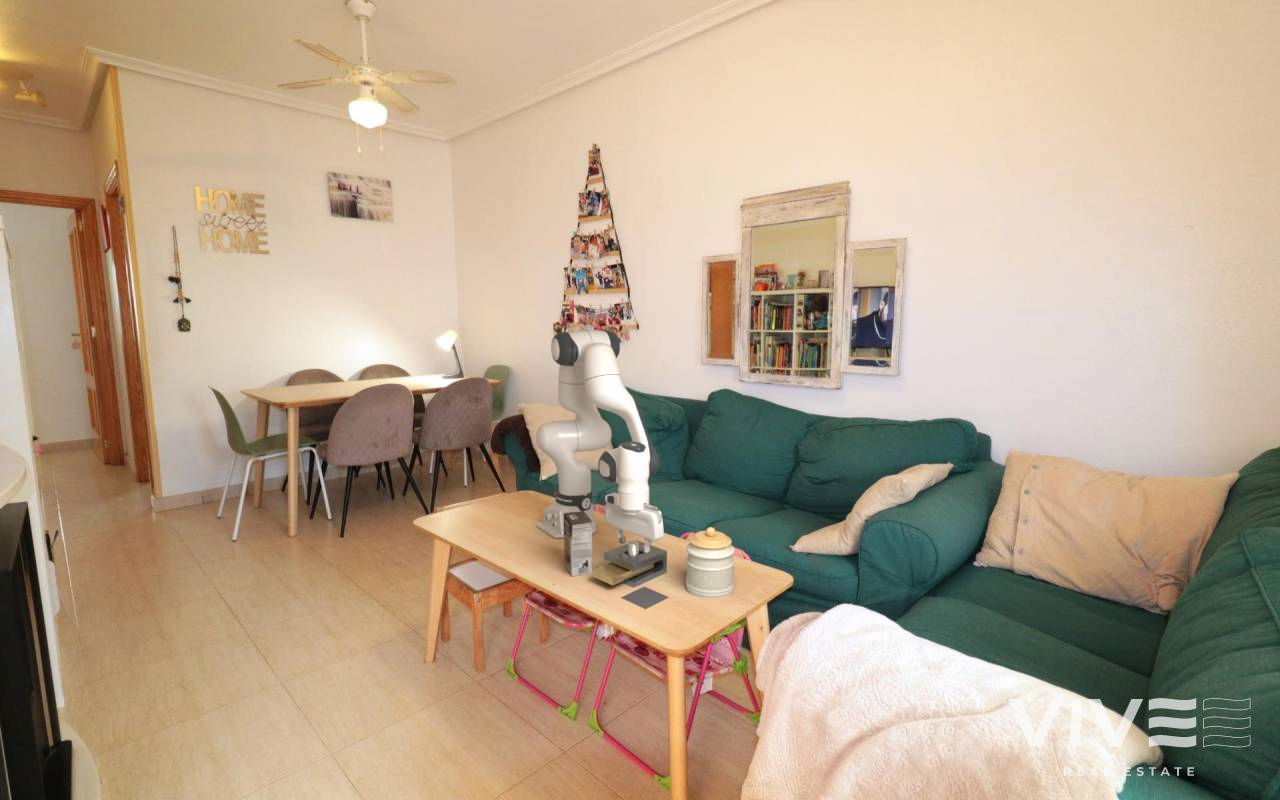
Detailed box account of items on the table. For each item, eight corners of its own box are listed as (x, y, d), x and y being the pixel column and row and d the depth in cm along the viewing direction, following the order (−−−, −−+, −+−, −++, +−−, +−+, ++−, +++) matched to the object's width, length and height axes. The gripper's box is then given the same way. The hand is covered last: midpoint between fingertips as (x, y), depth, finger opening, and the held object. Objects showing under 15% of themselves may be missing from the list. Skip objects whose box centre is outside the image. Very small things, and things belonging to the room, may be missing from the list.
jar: (702, 575, 168) (703, 516, 166) (742, 588, 160) (744, 526, 158) (676, 591, 158) (676, 528, 156) (717, 606, 150) (718, 540, 148)
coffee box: (563, 564, 176) (562, 512, 173) (584, 561, 178) (584, 510, 176) (571, 577, 167) (570, 522, 165) (593, 573, 169) (592, 519, 167)
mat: (620, 599, 154) (620, 597, 154) (644, 588, 160) (644, 586, 160) (645, 611, 148) (645, 609, 148) (669, 598, 154) (669, 597, 154)
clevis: (588, 582, 163) (587, 558, 162) (636, 562, 177) (636, 540, 176) (618, 596, 155) (617, 571, 154) (666, 574, 169) (666, 550, 168)
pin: (633, 572, 170) (633, 539, 169) (640, 576, 168) (640, 542, 167) (626, 576, 168) (625, 542, 166) (633, 579, 166) (633, 545, 164)
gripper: (668, 505, 160) (668, 554, 162) (616, 490, 174) (617, 535, 176) (653, 510, 155) (653, 560, 157) (601, 495, 170) (601, 540, 171)
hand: (633, 547), depth 167 cm, fingers open, 8 cm apart
